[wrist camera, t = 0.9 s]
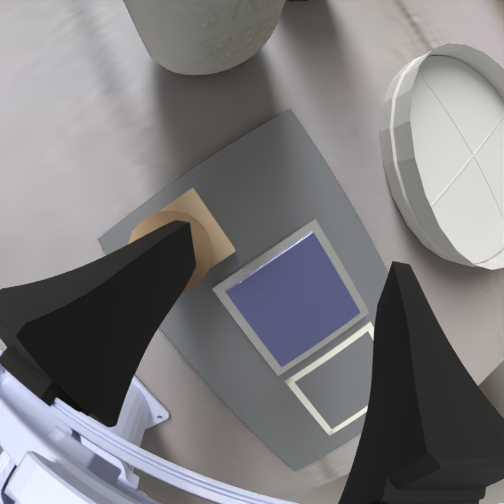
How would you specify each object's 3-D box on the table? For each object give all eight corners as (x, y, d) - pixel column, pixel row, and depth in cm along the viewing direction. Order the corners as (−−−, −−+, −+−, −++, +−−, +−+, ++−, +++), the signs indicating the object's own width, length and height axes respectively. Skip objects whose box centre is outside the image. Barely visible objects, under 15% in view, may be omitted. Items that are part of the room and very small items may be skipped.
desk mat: (293, 467, 28) (294, 472, 27) (100, 238, 23) (96, 239, 22) (430, 375, 28) (434, 377, 27) (288, 111, 23) (290, 108, 22)
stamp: (179, 283, 23) (158, 324, 15) (141, 229, 22) (99, 240, 14) (233, 246, 23) (242, 267, 15) (196, 190, 23) (182, 178, 14)
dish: (449, 34, 24) (473, 18, 19) (534, 183, 27) (561, 183, 22) (329, 124, 24) (352, 106, 19) (451, 306, 27) (482, 320, 23)
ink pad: (275, 369, 25) (278, 378, 24) (212, 284, 24) (211, 289, 22) (363, 308, 25) (370, 313, 24) (310, 218, 24) (316, 218, 22)
